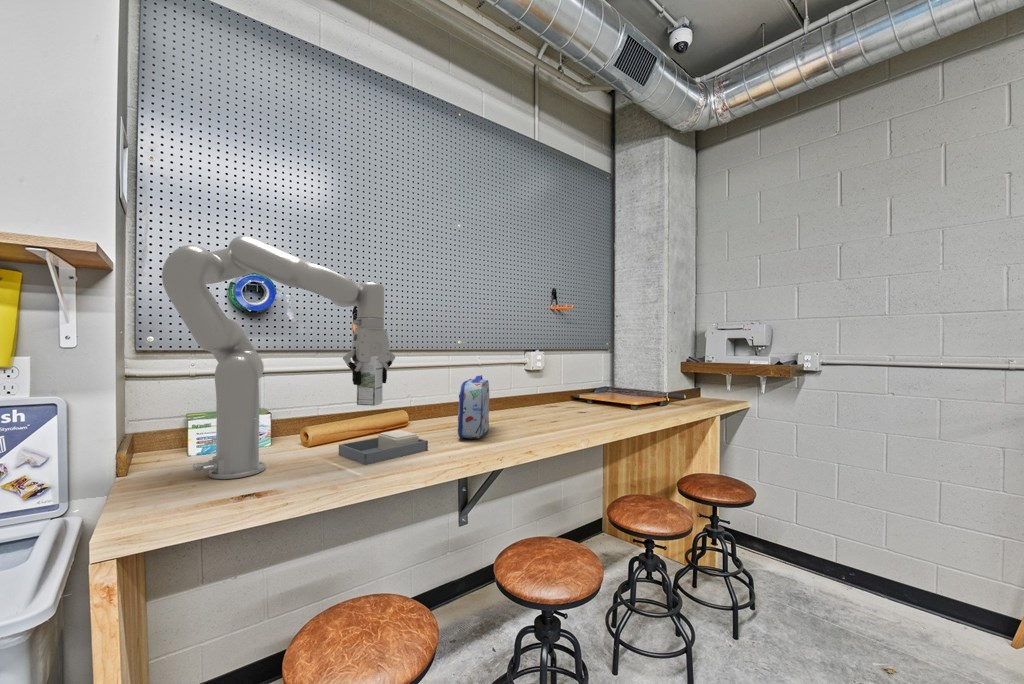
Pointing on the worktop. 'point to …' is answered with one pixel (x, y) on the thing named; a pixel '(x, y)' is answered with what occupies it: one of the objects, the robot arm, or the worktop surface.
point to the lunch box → (473, 408)
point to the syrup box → (370, 383)
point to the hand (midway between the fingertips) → (370, 383)
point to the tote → (378, 450)
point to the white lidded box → (396, 439)
